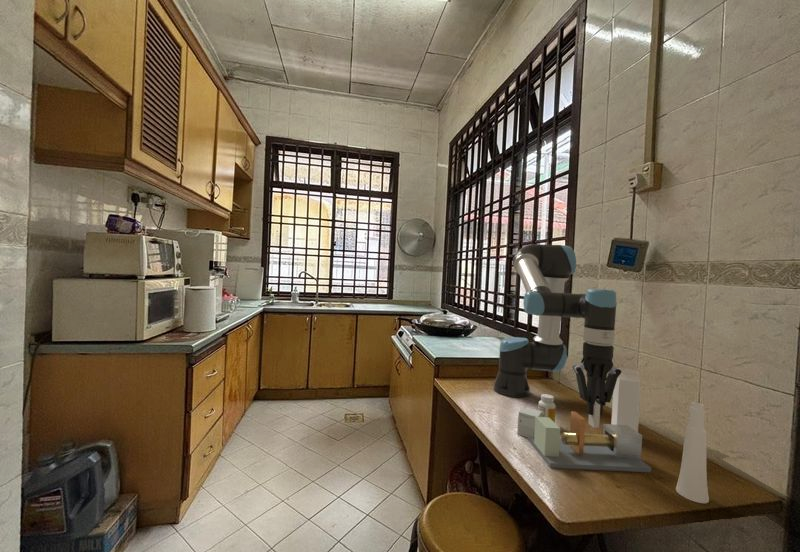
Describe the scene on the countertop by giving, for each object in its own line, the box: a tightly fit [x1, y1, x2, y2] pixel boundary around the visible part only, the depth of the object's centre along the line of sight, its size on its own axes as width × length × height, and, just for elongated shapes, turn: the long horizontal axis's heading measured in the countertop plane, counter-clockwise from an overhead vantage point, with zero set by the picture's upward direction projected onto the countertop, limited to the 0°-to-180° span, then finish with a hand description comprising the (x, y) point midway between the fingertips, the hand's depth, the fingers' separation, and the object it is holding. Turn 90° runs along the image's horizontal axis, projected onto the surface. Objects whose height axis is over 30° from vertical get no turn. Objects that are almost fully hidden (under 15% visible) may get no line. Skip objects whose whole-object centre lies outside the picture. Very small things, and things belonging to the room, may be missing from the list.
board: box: [528, 437, 652, 473], centre depth 96 cm, size 14×27×1 cm, turn 91°
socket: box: [534, 417, 562, 457], centre depth 96 cm, size 7×4×8 cm, turn 1°
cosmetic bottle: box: [675, 401, 710, 504], centre depth 80 cm, size 6×6×22 cm
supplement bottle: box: [537, 393, 557, 424], centre depth 116 cm, size 5×5×10 cm
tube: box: [560, 411, 614, 455], centre depth 96 cm, size 5×20×10 cm, turn 91°
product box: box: [516, 406, 542, 439], centre depth 108 cm, size 6×6×7 cm
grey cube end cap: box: [602, 423, 643, 460], centre depth 96 cm, size 6×7×7 cm
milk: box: [610, 367, 642, 433], centre depth 111 cm, size 6×6×22 cm
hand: (593, 425), depth 96 cm, fingers closed
